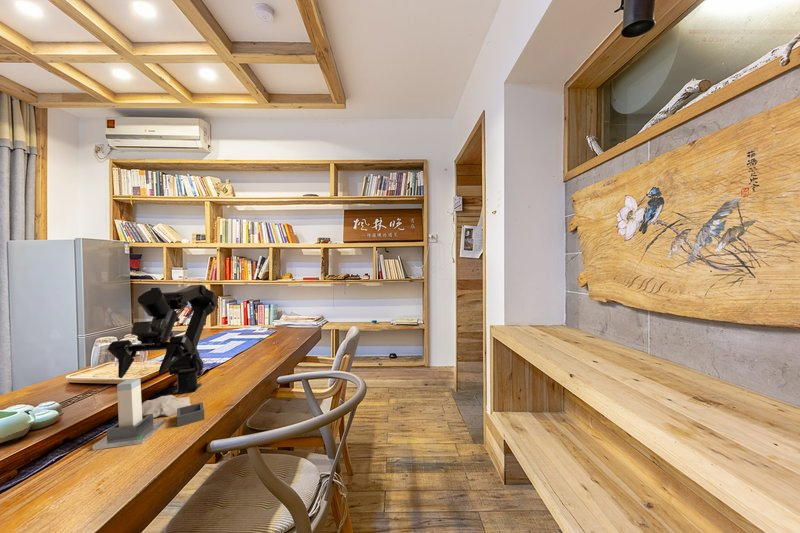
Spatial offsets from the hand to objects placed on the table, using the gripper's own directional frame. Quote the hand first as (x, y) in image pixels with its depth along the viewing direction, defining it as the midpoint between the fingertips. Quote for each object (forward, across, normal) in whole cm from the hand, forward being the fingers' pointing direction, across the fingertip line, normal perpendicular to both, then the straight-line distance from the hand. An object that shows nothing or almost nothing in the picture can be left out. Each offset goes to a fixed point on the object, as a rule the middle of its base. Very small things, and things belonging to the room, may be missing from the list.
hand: (140, 375), depth 82 cm
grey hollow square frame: (+9, +11, +10) cm, 17 cm away
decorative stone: (+4, +1, +16) cm, 17 cm away
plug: (+12, 0, +6) cm, 13 cm away
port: (+13, 0, +6) cm, 14 cm away
